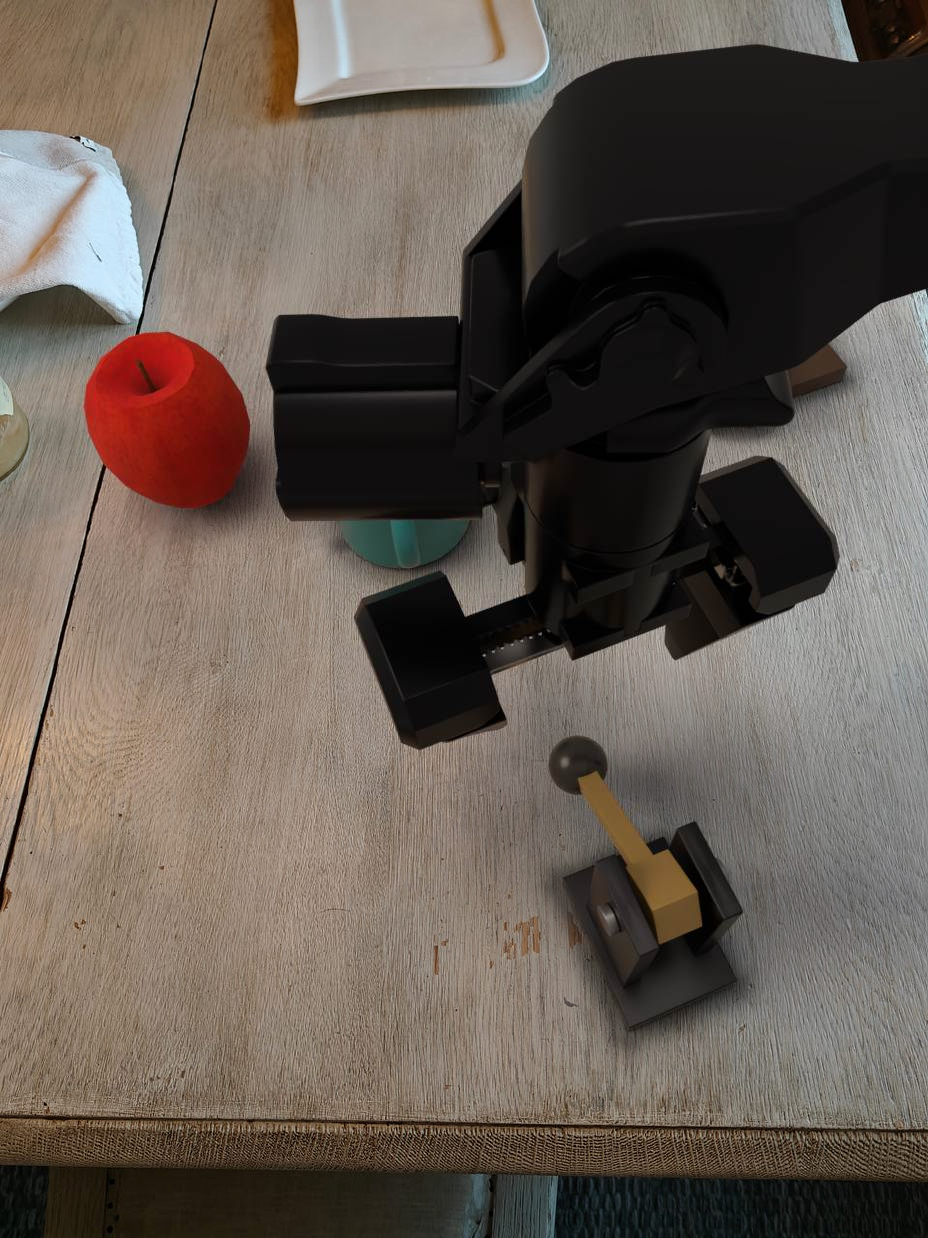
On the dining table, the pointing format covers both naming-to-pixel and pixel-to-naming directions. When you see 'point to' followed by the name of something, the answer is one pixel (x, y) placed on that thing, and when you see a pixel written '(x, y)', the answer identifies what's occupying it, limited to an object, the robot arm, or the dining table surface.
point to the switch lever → (628, 841)
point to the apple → (167, 419)
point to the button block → (816, 372)
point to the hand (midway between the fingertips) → (585, 684)
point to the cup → (402, 540)
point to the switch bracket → (626, 943)
